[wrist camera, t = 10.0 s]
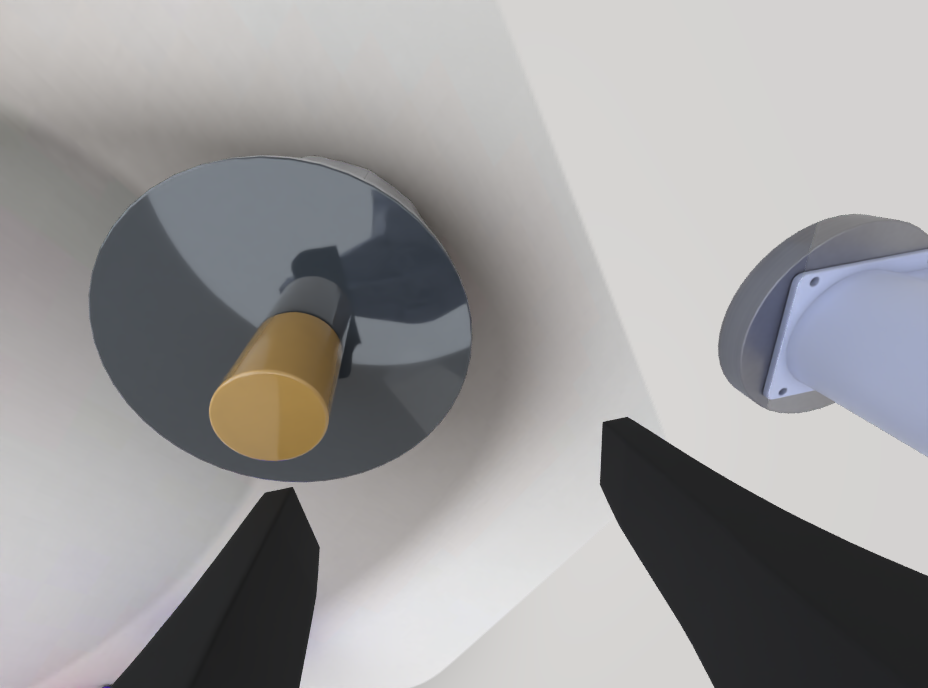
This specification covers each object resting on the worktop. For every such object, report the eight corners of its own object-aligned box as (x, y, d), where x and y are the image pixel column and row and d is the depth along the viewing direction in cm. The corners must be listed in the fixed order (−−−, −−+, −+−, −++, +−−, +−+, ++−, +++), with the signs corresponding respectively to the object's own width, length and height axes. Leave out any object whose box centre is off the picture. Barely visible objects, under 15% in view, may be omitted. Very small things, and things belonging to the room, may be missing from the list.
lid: (441, 127, 11) (471, 121, 7) (482, 427, 15) (513, 523, 12) (29, 187, 10) (-199, 218, 6) (205, 486, 14) (140, 610, 11)
